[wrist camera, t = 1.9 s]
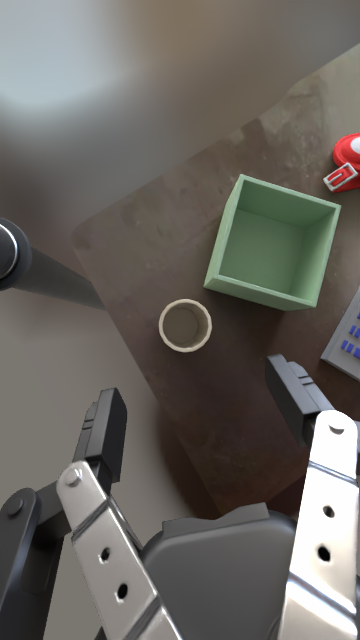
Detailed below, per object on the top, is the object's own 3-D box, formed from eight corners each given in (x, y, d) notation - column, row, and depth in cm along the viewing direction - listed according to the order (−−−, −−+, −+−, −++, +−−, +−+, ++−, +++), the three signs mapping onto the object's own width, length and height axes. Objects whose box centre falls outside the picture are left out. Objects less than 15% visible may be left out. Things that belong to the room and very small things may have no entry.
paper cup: (156, 339, 38) (152, 344, 28) (166, 301, 38) (167, 293, 28) (193, 349, 38) (203, 358, 28) (204, 312, 38) (217, 307, 28)
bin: (203, 287, 39) (212, 277, 31) (225, 204, 39) (240, 173, 31) (286, 311, 39) (315, 307, 31) (307, 229, 40) (341, 205, 32)
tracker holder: (339, 122, 39) (407, 130, 37) (326, 149, 44) (387, 157, 42) (327, 177, 36) (402, 189, 34) (315, 200, 40) (380, 212, 38)
